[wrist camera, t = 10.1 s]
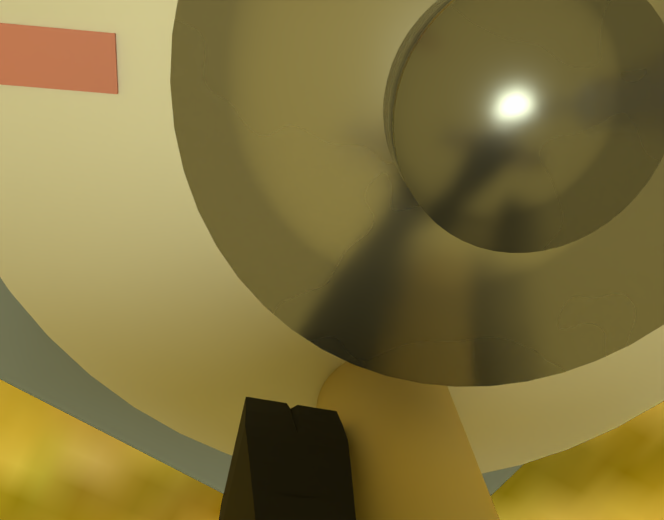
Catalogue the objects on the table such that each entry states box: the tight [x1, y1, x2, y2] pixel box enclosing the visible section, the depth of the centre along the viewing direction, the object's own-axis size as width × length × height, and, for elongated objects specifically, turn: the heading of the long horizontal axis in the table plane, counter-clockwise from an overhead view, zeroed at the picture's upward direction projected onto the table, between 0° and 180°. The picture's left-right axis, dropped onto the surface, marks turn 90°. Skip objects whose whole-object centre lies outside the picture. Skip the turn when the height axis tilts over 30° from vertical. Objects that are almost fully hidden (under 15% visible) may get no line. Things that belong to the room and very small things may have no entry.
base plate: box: [0, 278, 523, 496], centre depth 11 cm, size 15×19×1 cm
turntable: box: [0, 0, 664, 520], centre depth 7 cm, size 14×14×6 cm
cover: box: [170, 0, 664, 387], centre depth 7 cm, size 6×6×4 cm
